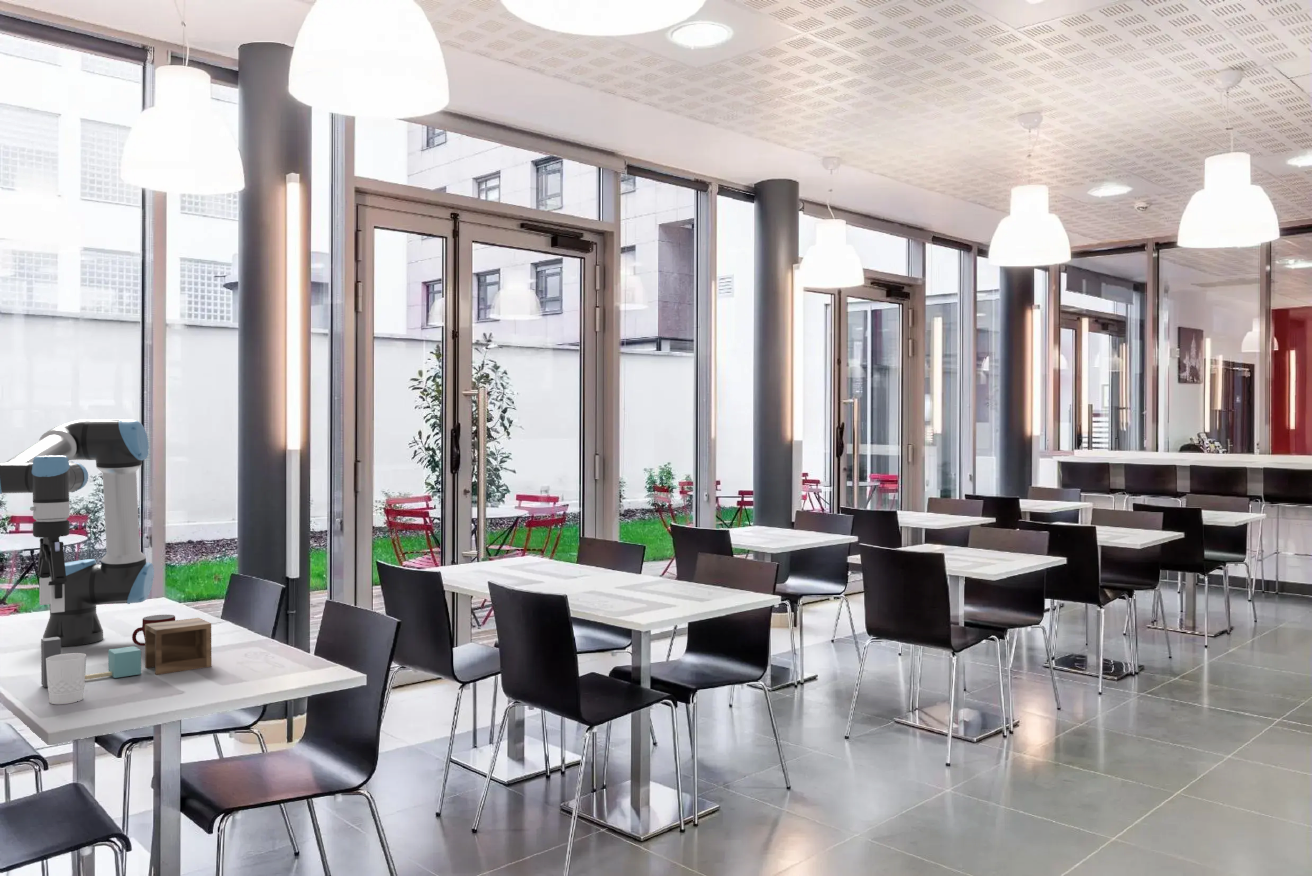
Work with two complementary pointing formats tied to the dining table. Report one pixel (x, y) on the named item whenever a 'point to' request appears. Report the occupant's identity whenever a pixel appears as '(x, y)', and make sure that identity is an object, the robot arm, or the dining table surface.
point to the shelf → (178, 645)
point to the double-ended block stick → (118, 660)
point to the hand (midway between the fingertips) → (51, 608)
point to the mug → (147, 621)
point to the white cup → (66, 677)
